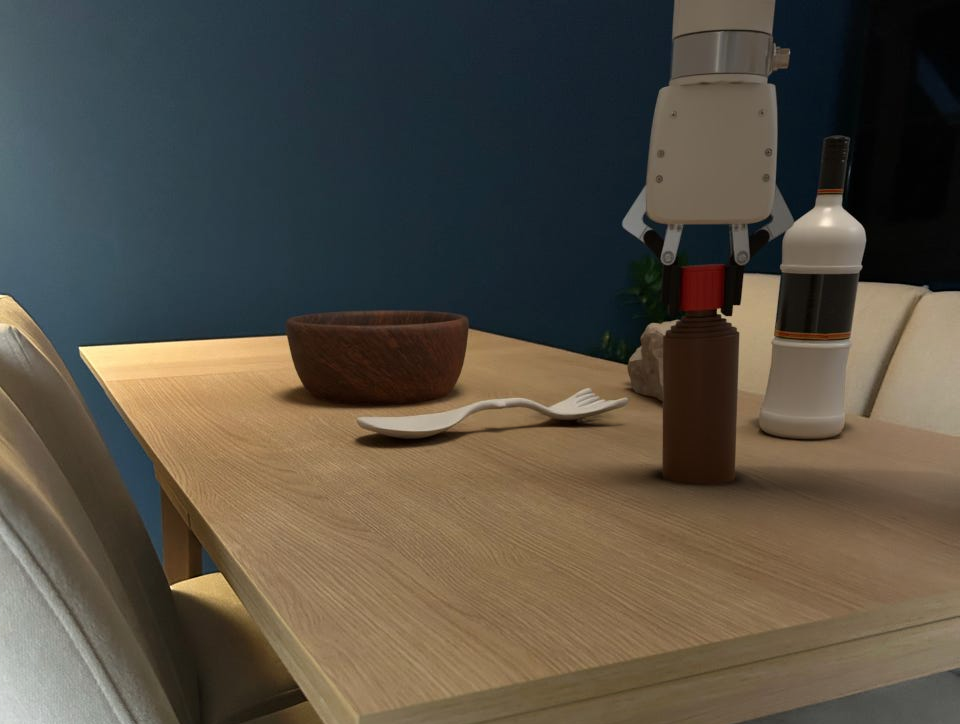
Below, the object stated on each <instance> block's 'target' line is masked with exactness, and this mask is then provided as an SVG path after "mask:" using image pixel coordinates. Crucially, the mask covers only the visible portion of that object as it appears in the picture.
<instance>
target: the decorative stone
mask: <svg viewBox="0 0 960 724" xmlns="http://www.w3.org/2000/svg"><path fill="white" fill-rule="evenodd" d="M679 320H680V319H675V320H671V321H663V322H662V323H657V322H651V323H649V324H648V325H647V326H646V328H645V330H644V332H643V333H642V334H641V336H640V339H639V340H640V344H641V345H640V346H639V347H637V348H636V350H635V352H634V353H633V354H631V356H630V357H629V358H628V363H627V367H626V369H627V374H628V376H629V379H630V385H631V387H632V389H633V390H634V392H635V393H636V394H639V395H644V396H648V397H653V398H656V399H657V400H659V401H661V402H663V336H664V335H666V331H667V330H670V329H671V326H673V325H676V322H677V321H679Z"/></svg>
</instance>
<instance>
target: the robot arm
mask: <svg viewBox="0 0 960 724" xmlns="http://www.w3.org/2000/svg"><path fill="white" fill-rule="evenodd" d="M673 1H674V3H673V15H672V16H673V17H672V32H671V33H672V34H671V49H670V65H669V80H668V81H669V82H668V86H665V87H662V88H660V89H659V91H658V95H657V98H656V103H655V108H654V113H653V118H652V124H651V131H650V138H649V149H648V157H647V166H646V167H647V168H646V177H645V185H644V186H643V188H642V189H641V192H640V193H639V194H638V196H637V198H635V200H634V202H633V204H632V205H631V207H630V208H629V210H628V211H627V213H626V215H625V217H624V218H623V219H622V222H621V226H622V228H623V229H624V230H625V231H627V232H628V233H629V234H631V235H632V236H634V237H636V238H637V239H638V240H640V241H641V242H642V243H643V244H645V245H646V246H647V248H648V249H649V250H650V251H651V252H652V253H653V254H654V255H655V256H656V258H657V259H658V260H659V261H660V262H661V263H662V273H661V286H660V289H661V290H660V306H667V315H668V317H676V315H678V314H679V307H678V303H679V289H680V275H681V267H682V266H681V265H679V262H680V261H679V260H680V257H679V256H678V255H677V253H678V249H679V246H680V241H681V238H682V237H681V236H682V232H683V228H684V225H728V233H729V247H730V255H729V256H728V258H727V263H726V266H725V271H726V278H725V292H724V306H723V308H720V310H719V311H720V314H721V315H723V316H725V317H732V316H733V313H734V306H741V303H742V297H743V285H744V275H745V265H746V264H748V263H749V261H750V260H751V259H752V258H753V257H754V256H755V255H756V254H757V253H759V252H760V250H762V248H764V247H765V246H766V245H767V244H768V243H770V241H772V240H774V239H776V238H777V237H779V236H780V235H782V234H784V233H786V231H787V230H788V229H790V228H791V227H792V226H793V224H794V222H795V220H794V218H793V215H792V213H791V211H790V209H789V207H788V204H786V201H785V199H784V197H783V195H782V193H781V191H780V189H779V187H778V185H777V183H776V181H777V180H776V179H777V157H778V104H777V103H778V101H777V90H776V85H775V84H773V83H768V79H769V77H770V75H771V74H772V73H773V72H775V71H778V69H788V67H789V64H790V63H789V62H790V55H791V48H790V47H789V48H788V47H787V48H781V46H776V42H774V36H773V29H774V19H775V18H774V17H775V7H776V0H673ZM644 215H646V217H647V218H648V219H649V220H650V221H652V222H655V223H657V224H660V225H666V226H665V231H664V235H663V238H662V237H661V236H660V234H659V233H658V232H657V231H655V229H653V228H652V227H650V226H648V225H647V224H646V223H645V222H644ZM769 216H771V217H770V219H769V222H768V223H765V225H764V226H761V227H760V228H759V229H756V230H755V231H754V232H753V233H752V234H751V235H750V236H749V228H748V225H750V224H755V223H759V222H763V221H764V220H766V219H768V218H769Z"/></svg>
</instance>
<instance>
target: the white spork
mask: <svg viewBox="0 0 960 724" xmlns="http://www.w3.org/2000/svg"><path fill="white" fill-rule="evenodd" d="M600 398H601V397H600V396H598V395H597V396H596V393H594V392H593V390H592V388H589V387H587V388H583V389H581V390H579V391H578V392H576V393H574V394H573V395H570V396H569V397H567V398H566V399H564V400H562V401H558V402H557V403H554V404H553V405H550V406H548V407H547V406H545V405H543V404H540V403H539V402H536V401H534V400H532V399H529V398H524V397H507V398H492V399H485V400H480V401H477V402H473V403H470V404H468V405H465V406H461V407H458V408H454V409H451V410H447V411H441V412H435V413H426V414H416V415H407V416H359V417H357V418H356V423H357V425H358V427H360V428H361V429H363V430H366V431H370V432H372V433H376V434H380V435H382V436H387V437H391V438H397V439H404V440H405V439H406V440H417V439H424V438H428V437H432V436H435V435H438V434H441V433H444V432H445V431H447V430H450V429H451V428H453V427H455V426H456V425H458V424H459V423H461V422H462V421H463V420H465V419H466V418H468V416H471V415H474V414H476V413H479V412H482V411H488V410H489V411H490V410H503V409H512V408H525V409H529V410H532V411H535V412H537V413H539V414H542V415H544V416H545V417H548V418H550V419H555V420H559V421H560V420H561V421H575V420H580V419H585V418H590V417H593V416H597V415H600V414H604V413H607V412H612V411H614V410H618V409H621V408H623V407H625V406H627V405H628V403H629V399H628V397H622V398H619V399H615V400H612V399H611V400H606V399H600Z"/></svg>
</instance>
